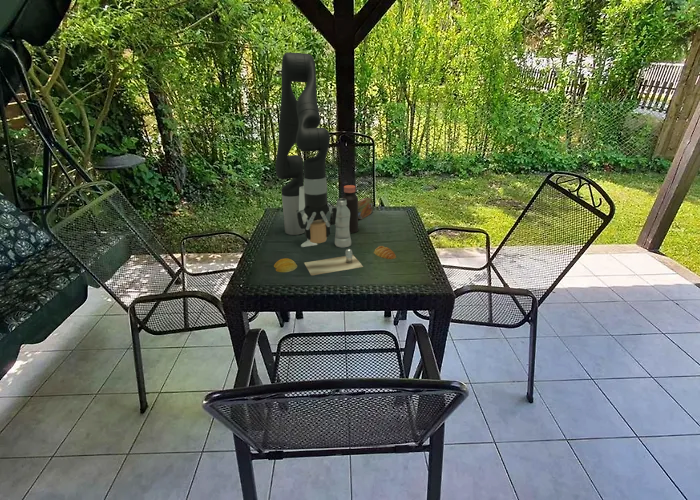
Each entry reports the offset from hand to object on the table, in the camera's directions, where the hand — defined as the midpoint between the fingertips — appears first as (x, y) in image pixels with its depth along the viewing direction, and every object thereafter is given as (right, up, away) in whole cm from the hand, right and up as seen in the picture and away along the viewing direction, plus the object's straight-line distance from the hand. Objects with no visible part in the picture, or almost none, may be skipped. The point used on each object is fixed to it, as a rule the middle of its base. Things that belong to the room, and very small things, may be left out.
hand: (317, 237), depth 147 cm
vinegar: (+11, +4, +41) cm, 43 cm away
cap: (0, -1, 0) cm, 1 cm away
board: (+5, -11, +6) cm, 14 cm away
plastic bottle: (+8, -4, +23) cm, 25 cm away
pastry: (+25, -8, +15) cm, 30 cm away
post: (+11, -9, +8) cm, 16 cm away
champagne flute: (-6, -2, +27) cm, 28 cm away
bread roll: (-12, -12, +6) cm, 18 cm away
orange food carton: (+18, +12, +58) cm, 62 cm away
